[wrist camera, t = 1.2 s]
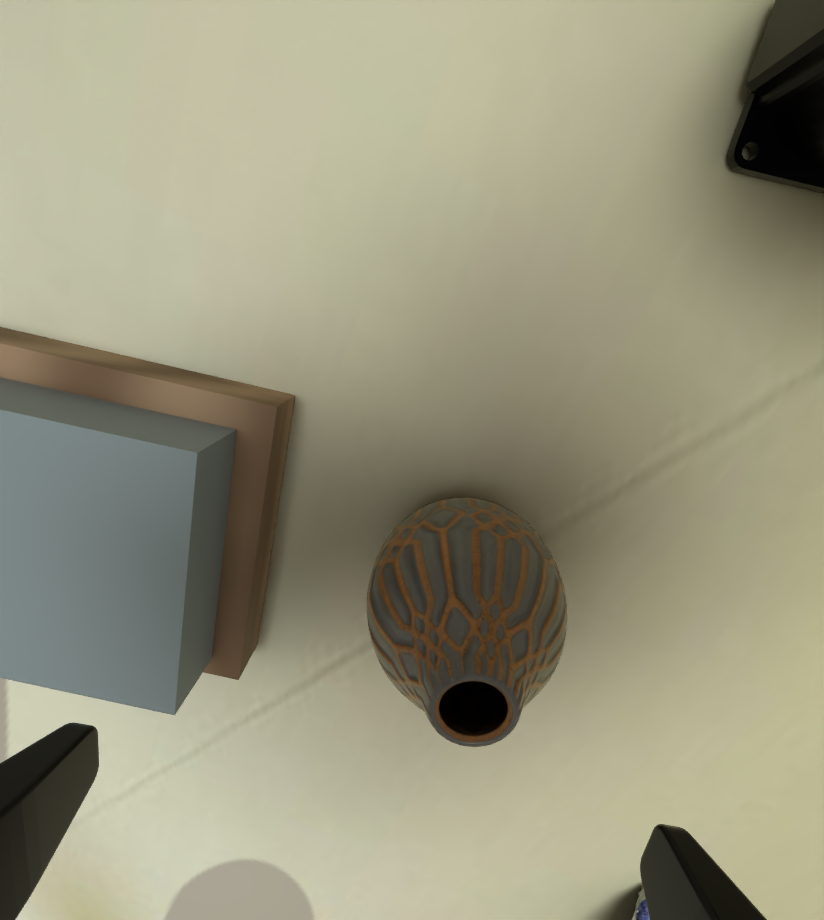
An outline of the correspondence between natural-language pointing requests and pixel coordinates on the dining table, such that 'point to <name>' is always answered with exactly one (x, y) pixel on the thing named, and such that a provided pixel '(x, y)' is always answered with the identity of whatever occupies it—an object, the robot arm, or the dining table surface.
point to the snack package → (641, 907)
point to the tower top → (109, 545)
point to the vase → (467, 616)
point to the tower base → (205, 400)
